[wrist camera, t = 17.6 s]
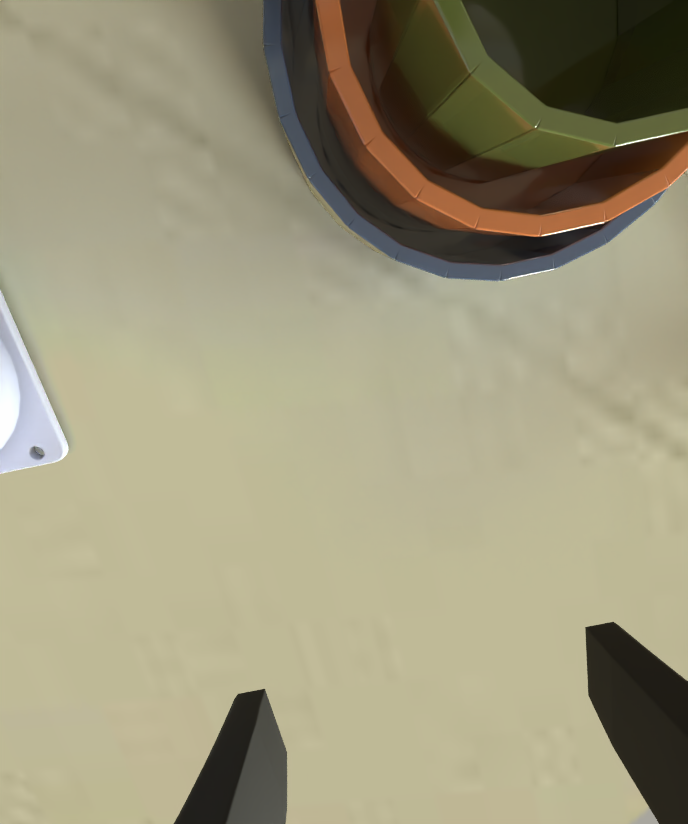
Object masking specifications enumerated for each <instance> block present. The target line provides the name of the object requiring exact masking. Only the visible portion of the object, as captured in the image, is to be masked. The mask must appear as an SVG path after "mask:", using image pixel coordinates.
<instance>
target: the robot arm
mask: <svg viewBox="0 0 688 824" xmlns="http://www.w3.org/2000/svg"><path fill="white" fill-rule="evenodd" d="M35 447H39V448H41V449H42V450H43V452H44V455H40V454H38V453H37V452H36V451H35ZM68 449H69V448H68V443H67V441H66V439H65V437H64V434H63V432H62V430H61V427H60V425H59V423H58V421H57V418H56V416H55V414H54V411H53V409H52V407H51V404H50V402H49V400H48V398H47V395H46V393H45V391H44V388H43V386H42V384H41V382H40V379H39V377H38V375H37V372H36V370H35V368H34V365H33V363H32V361H31V359H30V356H29V354H28V352H27V349H26V347H25V345H24V343H23V340H22V338H21V336H20V333H19V331H18V329H17V327H16V324H15V322H14V320H13V317H12V315H11V313H10V310H9V308H8V306H7V304H6V301H5V299H4V297H3V294H2V292H1V290H0V474H1V473H6V472H10V471H15V470H20V469H25V468H30V467H34V466H39V465H44V464H49V463H54V462H57V461H59V460H61V459H62V458H63V457H65V455H66V454H67V453H68ZM585 628H586V650H587V671H588V693H589V697H590V699H591V702H592V704H593V706H594V708H595V710H596V712H597V714H598V717H599V719H600V721H601V723H602V725H603V727H604V729H605V731H606V733H607V735H608V737H609V739H610V741H611V744H612V746H613V747H614V749H615V751H616V752H617V754H618V756H619V758H620V759H621V761H622V763H623V764H624V766H625V768H626V769H627V771H628V773H629V774H630V776H631V778H632V779H633V781H634V783H635V784H636V786H637V788H638V789H639V791H640V793H641V794H642V796H643V798H644V799H645V801H646V803H647V804H648V806H649V808H650V809H651V811H652V813H653V814H654V815H655V817H656V819H657V821H658V822H659V824H688V681H687V680H685V679H684V678H683V677H681V676H680V675H679V674H678V673H676V672H675V671H674V670H673V669H671V668H670V667H669V666H668V665H666V664H665V663H664V662H663V661H661V660H660V659H659V658H658V657H656V656H655V655H654V654H653V653H651V652H650V651H649V650H648V649H646V648H645V647H644V646H643V645H642V644H640V643H639V642H638V641H637V640H636V639H634V638H633V637H632V636H631V635H629V634H628V633H627V632H626V631H625V630H623V629H622V628H621V627H620V626H619V625H617V624H616V623H614V622H610V623H605V624H600V625H595V626H590V627H585ZM286 812H287V751H286V748H285V745H284V743H283V740H282V737H281V734H280V731H279V728H278V725H277V723H276V720H275V717H274V714H273V711H272V708H271V705H270V703H269V700H268V697H267V694H266V691H265V689H262V690H257V691H251V692H246V693H241V694H238V695H237V696H236V698H235V699H234V701H233V704H232V706H231V708H230V711H229V713H228V715H227V717H226V720H225V722H224V724H223V726H222V728H221V731H220V733H219V735H218V737H217V739H216V741H215V744H214V746H213V748H212V750H211V752H210V754H209V756H208V758H207V760H206V763H205V765H204V767H203V769H202V770H201V772H200V774H199V776H198V778H197V780H196V782H195V784H194V786H193V788H192V790H191V792H190V794H189V796H188V798H187V800H186V802H185V804H184V806H183V808H182V810H181V812H180V813H179V815H178V817H177V819H176V821H175V822H174V824H285V823H286Z"/></svg>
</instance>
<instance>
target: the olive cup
mask: <svg viewBox="0 0 688 824" xmlns="http://www.w3.org/2000/svg"><path fill="white" fill-rule="evenodd" d="M369 39H370V57H371V67H372V73H373V77H374V82H375V87H376V90H377V93H378V96H379V99H380V102H381V105H382V107H383V109H384V111H385V113H386V115H387V117H388V119H389V121H390V123H391V124H392V126H393V128H394V129H395V131H396V132H397V134H398V135H399V136H400V138H401V139H402V140H403V141H404V142H405V143H406V145H407V146H408V147H409V148H410V149H411V150H412V151H413V152H414V153H416V154H417V155H418V156H419V157H420V158H421V159H423V160H424V161H426V162H427V163H429V164H430V165H432V166H433V167H435V168H437V169H439V170H442V171H444V172H446V173H448V174H451V175H455V176H458V177H461V178H467V179H474V180H485V181H493V180H497V179H502V178H507V177H511V176H515V175H520V174H525V173H529V172H534V171H538V170H541V169H545V168H549V167H553V166H557V165H561V164H565V163H568V162H572V161H576V160H580V159H584V158H588V157H591V156H595V155H599V154H603V153H607V152H611V151H615V150H618V149H622V148H626V147H630V146H634V145H638V144H641V143H645V142H649V141H653V140H657V139H661V138H665V137H668V136H672V135H676V134H680V133H684V132H688V0H375V1H374V6H373V10H372V18H371V24H370V30H369Z"/></svg>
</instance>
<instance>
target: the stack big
mask: <svg viewBox="0 0 688 824" xmlns="http://www.w3.org/2000/svg"><path fill="white" fill-rule="evenodd" d="M263 46H264V47H263V50H264V55H265V59H266V64H267V68H268V73H269V78H270V82H271V87H272V91H273V96H274V100H275V105H276V109H277V114H278V117H279V120H280V123H281V126H282V128H283V131H284V134H285V136H286V139H287V141H288V144H289V146H290V149H291V151H292V153H293V155H294V158H295V160H296V162H297V164H298V166H299V168H300V170H301V172H302V174H303V176H304V178H305V180H306V183H307V185H308V187H309V189H310V191H311V192H312V194H313V195H314V196H315V197H316V199H317V200H318V201H319V202H320V203H321V205H322V206H323V207H324V209H325V210H326V211H327V212H328V213H329V214H330V215H331V217H332V218H333V219H334V220H335V221H336V223H337V224H338V225H339V226H341V228H342V229H344V230H345V231H347V232H348V233H349V234H351V235H352V236H354V237H355V238H356V239H358V240H359V241H361V242H362V243H364V244H365V245H366V246H368V247H369V248H371V249H372V250H374V251H376V252H377V253H380V254H382V255H384V256H386V257H389V258H391V259H393V260H395V261H398V262H401V263H404V264H406V265H409V266H412V267H415V268H418V269H421V270H424V271H426V272H429V273H432V274H435V275H438V276H441V277H444V278H445V277H446V278H450V279H467V280H484V281H504V280H509V279H513V278H518V277H523V276H528V275H532V274H537V273H542V272H546V271H551V270H553V269H557V268H559V267H561V266H563V265H565V264H567V263H569V262H571V261H573V260H575V259H577V258H579V257H581V256H583V255H585V254H587V253H589V252H591V251H593V250H595V249H597V248H599V247H601V246H603V245H605V244H606V243H608V242H610V241H611V240H612V239H613V238H615V237H616V236H617V235H618V234H619V233H621V232H622V231H623V230H624V229H625V228H627V227H628V226H629V225H630V224H632V223H633V222H634V221H635V220H636V219H638V218H639V217H640V216H641V215H642V214H644V213H645V212H646V211H647V210H649V209H650V208H651V207H652V206H653V205H655V203H656V202H658V200H659V199H660V198H661V197H662V195H663V194H664V193H665V191H666V190H667V189H668V188H669V187H668V188H667V189H665V190H663V191H661V192H660V193H658V194H656V195H654V196H652V197H651V198H649V199H647V200H645V201H644V202H642V203H640V204H638V205H636V206H635V207H633V208H631V209H629V210H628V211H626V212H624V213H622V214H620V215H619V216H617V217H615V218H613V219H612V220H610V221H608V222H604V223H603V224H598V225H594V226H589V227H584V228H580V229H575V230H570V231H566V232H561V233H556V234H552V235H547V236H543V237H528V236H506V235H485V234H476V233H468V232H443V231H432V230H425V229H420V228H416V227H413V226H409V225H406V224H404V223H402V222H399V221H397V220H395V219H393V218H391V217H389V216H387V215H386V214H384V213H383V212H381V211H379V210H378V209H376V208H375V207H374V206H373V205H372V204H370V203H369V202H368V201H367V200H366V199H364V198H363V197H362V195H361V194H360V193H359V192H358V191H357V190H356V189H355V188H354V187H353V186H352V184H351V183H350V182H349V180H348V179H347V177H346V176H345V174H344V173H343V172H342V170H341V168H340V166H339V165H338V163H337V161H336V159H335V157H334V155H333V153H332V151H331V148H330V145H329V143H328V140H327V138H326V135H325V131H324V127H323V123H322V119H321V115H320V108H319V100H318V81H317V62H316V56H315V46H314V16H313V0H263Z"/></svg>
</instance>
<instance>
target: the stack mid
mask: <svg viewBox="0 0 688 824" xmlns="http://www.w3.org/2000/svg"><path fill="white" fill-rule="evenodd" d="M374 1H375V0H313V16H314V46H315V56H316V62H317V81H318V100H319V108H320V115H321V119H322V123H323V127H324V131H325V135H326V138H327V140H328V143H329V145H330V148H331V151H332V153H333V155H334V157H335V159H336V161H337V163H338V165H339V166H340V168H341V170H342V172H343V173H344V174H345V176H346V177H347V179H348V180H349V182H350V183H351V184H352V186H353V187H354V188H355V189H356V190H357V191H358V192H359V193H360V194H361V195H362V197H363V198H364V199H366V200H367V201H368V202H369V203H370V204H372V205H373V206H374V207H375V208H376V209H378V210H379V211H381V212H383V213H384V214H386V215H387V216H389V217H391V218H393V219H395V220H397V221H399V222H402V223H404V224H406V225H409V226H413V227H416V228H420V229H425V230H432V231H443V232H468V233H476V234H485V235H506V236H528V237H543V236H547V235H552V234H556V233H561V232H566V231H570V230H575V229H580V228H584V227H589V226H594V225H598V224H603V223H604V222H608V221H610V220H612V219H613V218H615V217H617V216H619V215H620V214H622V213H624V212H626V211H628V210H629V209H631V208H633V207H635V206H636V205H638V204H640V203H642V202H644V201H645V200H647V199H649V198H651V197H652V196H654V195H656V194H658V193H660V192H661V191H663V190H665V189H667V188H668V187H669V186H670V185H672V184H673V183H674V182H675V181H676V180H677V179H678V178H679V177H680V176H681V175H682V174H683V173H684V172H685V171H686V170H687V169H688V132H684V133H680V134H676V135H672V136H668V137H665V138H661V139H657V140H653V141H649V142H645V143H641V144H638V145H634V146H630V147H626V148H622V149H618V150H615V151H611V152H607V153H603V154H599V155H595V156H591V157H588V158H584V159H580V160H576V161H572V162H568V163H565V164H561V165H557V166H553V167H549V168H545V169H541V170H538V171H534V172H529V173H525V174H520V175H515V176H511V177H507V178H502V179H497V180H493V181H485V180H474V179H467V178H461V177H458V176H455V175H451V174H448V173H446V172H444V171H442V170H439V169H437V168H435V167H433V166H432V165H430V164H429V163H427V162H426V161H424V160H423V159H421V158H420V157H419V156H418V155H417V154H416V153H414V152H413V151H412V150H411V149H410V148H409V147H408V146H407V145H406V143H405V142H404V141H403V140H402V139H401V138H400V136H399V135H398V134H397V132H396V131H395V129H394V128H393V126H392V124H391V123H390V121H389V119H388V117H387V115H386V113H385V111H384V109H383V107H382V105H381V102H380V99H379V96H378V93H377V90H376V87H375V82H374V77H373V73H372V67H371V57H370V39H369V30H370V24H371V18H372V10H373V6H374Z"/></svg>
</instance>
